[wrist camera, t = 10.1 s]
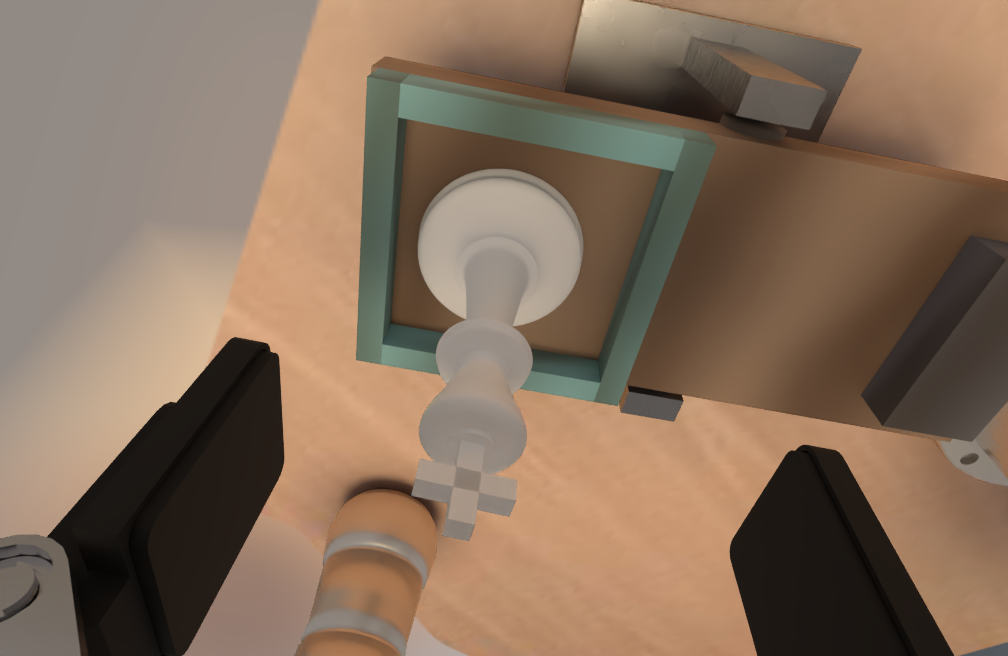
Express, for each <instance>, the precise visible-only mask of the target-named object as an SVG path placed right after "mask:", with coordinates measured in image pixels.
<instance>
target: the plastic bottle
mask: <svg viewBox="0 0 1008 656" xmlns="http://www.w3.org/2000/svg"><path fill="white" fill-rule="evenodd" d="M436 552H437V530H436V525H435V523H434V521H433V519H432V517H431V515H430V513H429V511H428V510H427V509H426V507H425V506H424V505H423V504H422V503H421V502H419V501H418V500H417V499H415V498H413V497H412V496H409V495H407V494H405V493H402V492H399V491H394V490H389V489H374V490H369V491H365V492H363V493H361V494H358V495H357V496H355V497H353V498H352V499H350V500H349V501H348V502H346V503H345V504H344V505H343V507H342V508H341V509H340V511H339V513H338V514H337V516H336V518H335V519H334V521H333V522H332V524H331V526H330V529H329V532H328V537H327V541H326V546H325V550H324V558H323V569H322V573H321V577H320V581H319V585H318V588H317V592H316V595H315V599H314V603H313V607H312V610H311V614H310V618H309V621H308V623H307V626H306V628H305V631H304V633H303V636H302V638H301V643H300V644H299V645H298V648H297V650H296V653H295V655H294V656H405V653H406V646H407V642H408V638H409V634H410V631H411V628H412V624H413V621H414V617H415V614H416V610H417V607H418V603H419V600H420V596H421V593H422V590H423V588H424V586H425V584H426V582H427V580H428V577H429V575H430V572H431V569H432V566H433V563H434V560H435V557H436Z"/></svg>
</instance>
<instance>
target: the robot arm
mask: <svg viewBox="0 0 1008 656" xmlns="http://www.w3.org/2000/svg"><path fill="white" fill-rule="evenodd" d="M935 442H936V443H937V445H938V446H939V448H940V449H941V451H942V452H943V453H944V455H945V456H946V457H947V458H948V460H949V461H950V462H951V463H952V464H953V465H954V466H955V467H956V468H957V469H959V470H961V471H962V472H964V473H965V474H967V475H969V476H970V477H973V478H976V479H978V480H981V481H984V482H987V483H991V484H997V485H1003V486H1008V402H1007V403H1006V404H1005V405H1004V406H1003V407H1002V409H1001V410H1000V411H999V412H998V413H997V414H996V415H995V416H994V418H993V419H992V420H991V421H990V422H989V423H988V424H987V426H986V427H985V428H984V429H983V430H982V431H981V432H980V433H979V435H978V436H977V437H976V438H975V439H974V440H973V441H972V442H969V441H963V440H957V439H952V440H951V442H945V441H940V440H935ZM283 464H284V442H283V423H282V404H281V385H280V365H279V356H278V354H276V353H272V352H270V347H269V345H268V344H267V343H263V342H258V341H253V340H248V339H242V338H237V337H234V338H232V339H230V340H229V341H228V342H227V344H226V345H225V346H224V347H223V348H222V349H221V351H220V352H219V353H218V354H217V355H216V357H215V358H214V359H213V360H212V361H211V362H210V364H209V365H208V366H207V367H206V368H205V370H204V371H203V372H202V373H201V374H200V375H199V377H198V378H197V379H196V380H195V381H194V383H193V384H192V385H191V386H190V387H189V388H188V390H187V391H186V392H185V393H184V394H183V396H182V397H181V398H180V399H179V400H178V401H177V403H174V402H169V403H167V404H165V405H163V406H162V407H161V408H160V409H159V410H158V411H157V412H156V413H155V414H154V415H153V416H152V417H151V418H150V420H149V421H148V422H147V423H146V424H145V425H144V426H143V428H142V429H141V430H140V431H139V432H138V433H137V434H136V436H135V437H134V438H133V439H132V440H131V441H130V442H129V444H128V445H127V446H126V447H125V448H124V449H123V451H122V452H121V453H120V454H119V455H118V456H117V457H116V459H115V460H114V461H113V462H112V463H111V464H110V465H109V467H108V468H107V469H106V470H105V471H104V472H103V473H102V475H101V476H100V477H99V478H98V479H97V480H96V481H95V483H94V484H93V485H92V486H91V487H90V488H89V490H88V491H87V492H86V493H85V494H84V495H83V496H82V497H81V499H80V500H79V501H78V502H77V503H76V504H75V505H74V507H73V508H72V509H71V510H70V511H69V512H68V513H67V515H66V516H65V517H64V518H63V519H62V520H61V522H60V523H59V524H58V525H57V526H56V527H55V529H53V531H52V532H51V533H50V534H49V535H48V536H47V537H44V536H40V535H14V536H10V537H5V538H0V656H182V655H184V654H185V652H186V651H187V649H188V648H189V646H190V644H191V643H192V640H193V639H194V637H195V635H196V633H197V631H198V629H199V628H200V626H201V624H202V622H203V620H204V618H205V616H206V614H207V613H208V611H209V609H210V607H211V605H212V603H213V601H214V599H215V598H216V596H217V594H218V592H219V590H220V588H221V586H222V584H223V583H224V580H225V579H226V577H227V575H228V573H229V571H230V569H231V567H232V565H233V564H234V562H235V560H236V558H237V556H238V554H239V552H240V550H241V549H242V547H243V545H244V543H245V541H246V539H247V537H248V535H249V534H250V532H251V530H252V528H253V526H254V524H255V522H256V520H257V518H258V516H259V515H260V513H261V511H262V509H263V507H264V505H265V503H266V502H267V500H268V498H269V496H270V494H271V492H272V490H273V488H274V486H275V485H276V483H277V481H278V479H279V477H280V475H281V472H282V468H283ZM730 559H731V563H732V567H733V570H734V574H735V577H736V581H737V584H738V588H739V592H740V595H741V599H742V602H743V606H744V609H745V613H746V616H747V620H748V624H749V627H750V631H751V634H752V638H753V641H754V645H755V648H756V652H757V656H954V654H953V653H952V651H951V649H950V647H949V645H948V644H947V642H946V640H945V638H944V636H943V635H942V633H941V631H940V629H939V628H938V626H937V624H936V622H935V620H934V619H933V617H932V615H931V613H930V612H929V610H928V608H927V606H926V604H925V603H924V601H923V599H922V597H921V595H920V594H919V592H918V590H917V588H916V587H915V585H914V583H913V581H912V579H911V578H910V576H909V574H908V572H907V570H906V569H905V567H904V565H903V563H902V562H901V560H900V558H899V556H898V554H897V553H896V551H895V549H894V547H893V545H892V544H891V542H890V540H889V538H888V537H887V535H886V533H885V531H884V529H883V528H882V526H881V524H880V522H879V520H878V519H877V517H876V515H875V513H874V512H873V510H872V508H871V506H870V504H869V503H868V501H867V499H866V497H865V496H864V494H863V492H862V490H861V488H860V487H859V485H858V483H857V481H856V479H855V478H854V476H853V474H852V472H851V471H850V469H849V467H848V465H847V463H846V462H845V460H844V458H843V457H842V455H841V454H840V453H839V452H837V451H836V450H831V449H826V448H820V447H815V446H810V445H802V446H800V447H798V448H797V450H796V451H790V452H788V453H787V454H786V456H785V457H784V459H783V460H782V462H781V464H780V465H779V467H778V468H777V470H776V472H775V473H774V475H773V476H772V478H771V479H770V481H769V483H768V484H767V486H766V487H765V489H764V490H763V492H762V494H761V495H760V497H759V498H758V500H757V501H756V503H755V505H754V506H753V508H752V509H751V511H750V512H749V514H748V516H747V517H746V519H745V520H744V522H743V523H742V525H741V527H740V528H739V530H738V531H737V533H736V534H735V536H734V538H733V540H732V542H731V545H730Z"/></svg>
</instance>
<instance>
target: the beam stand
mask: <svg viewBox="0 0 1008 656" xmlns="http://www.w3.org/2000/svg"><path fill="white" fill-rule="evenodd" d="M861 50H862V49H861V48H858V47H855V46H852V45H848V44H843V43H838V42H834V41H829V40H824V39H819V38H815V37H810V36H805V35H800V34H795V33H791V32H786V31H781V30H776V29H771V28H767V27H762V26H757V25H752V24H747V23H743V22H738V21H733V20H728V19H724V18H719V17H714V16H709V15H704V14H700V13H695V12H690V11H685V10H680V9H676V8H671V7H666V6H661V5H656V4H652V3H647V2H642V1H637V0H582V3H581V8H580V12H579V17H578V22H577V26H576V31H575V35H574V40H573V44H572V49H571V53H570V58H569V63H568V67H567V72H566V76H565V81H564V85H563V90H562V92H565V93H570V94H575V95H580V96H585V97H590V98H595V99H600V100H605V101H610V102H615V103H620V104H625V105H630V106H635V107H640V108H645V109H650V110H655V111H660V112H665V113H670V114H675V115H680V116H685V117H690V118H695V119H700V120H705V121H710V122H715V123H719V122H720V120H721V117H722V114H723V113H734V114H735V115H736V116H740V117H745V118H750V119H755V120H760V121H765V122H770V123H774V124H777V125H779V126H781V127H783V128H784V129H785V130H786V131H787V132H786V134H785V137H790V138H795V139H800V140H805V141H810V142H815V143H817V142H818V140H819V138H820V136H821V134H822V132H823V129H824V127H825V125H826V123H827V121H828V119H829V117H830V115H831V113H832V111H833V108H834V106H835V104H836V102H837V100H838V98H839V96H840V94H841V92H842V90H843V88H844V85H845V83H846V81H847V79H848V77H849V75H850V73H851V71H852V69H853V67H854V64H855V62H856V60H857V58H858V56H859V54H860V52H861ZM682 403H683V398H682V395H680V394H675V393H669V392H663V391H658V390H652V389H646V388H641V387H635V386H629V385H626V386H625V388H624V391H623V393H622V396H621V399H620V401H619V405H620V411H621V413H627V414H633V415H639V416H645V417H650V418H656V419H662V420H668V421H675V418H676V416H677V414H678V412H679V410H680V408H681V405H682Z"/></svg>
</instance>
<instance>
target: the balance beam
mask: <svg viewBox="0 0 1008 656" xmlns="http://www.w3.org/2000/svg"><path fill="white" fill-rule="evenodd" d="M786 132H787V131H786V130H785V129H784V128H783V127H781V126H779V125H777V124H774V123H770V122H765V121H760V120H755V119H750V118H745V117H740V116H736V115H735V114H734V113H723V114H722V117H721V120H720V122H719V123H715V122H710V121H705V120H700V119H695V118H690V117H685V116H680V115H675V114H670V113H665V112H660V111H655V110H650V109H645V108H640V107H635V106H630V105H625V104H620V103H615V102H610V101H605V100H600V99H595V98H590V97H585V96H580V95H575V94H570V93H565V92H560V91H555V90H550V89H545V88H540V87H535V86H530V85H525V84H520V83H515V82H510V81H505V80H500V79H495V78H490V77H485V76H480V75H475V74H470V73H465V72H460V71H455V70H450V69H445V68H440V67H435V66H430V65H425V64H420V63H415V62H410V61H405V60H400V59H395V58H390V57H384V58H382V59H381V60H379V61H378V62H377V63H375V64H374V65H372V67H371V74H370V75H369V76H367V94H366V120H365V146H364V171H363V197H362V222H361V248H360V273H359V299H358V325H357V350H356V360H359V361H364V362H370V363H376V364H381V365H387V366H393V367H399V368H404V369H410V370H416V371H421V372H427V373H433V374H438V375H440V373H439V370H438V366H437V362H436V349H437V345H438V342H439V340H440V339H441V337H442V336H443V334H444V333H445V332H446V331H447V330H448V329H449V328H451V327H452V326H454V325H455V324H457V323H459V322H462V321H465V320H466V319H464V318H462V317H460V316H458V315H456V314H455V313H453V312H452V311H450V310H449V309H448V308H446V307H445V306H444V305H443V304H442V303H441V302H440V301H439V300H438V299H437V298H436V297H435V296H434V295H433V293H432V292H431V290H430V289H429V287H428V286H427V284H426V282H425V280H424V278H423V275H422V273H421V269H420V266H419V260H418V238H419V229H420V225H421V221H422V218H423V216H424V213H425V211H426V209H427V207H428V206H429V204H430V203H431V201H432V200H433V199H434V197H435V196H436V195H437V194H438V193H439V192H440V191H441V190H442V189H443V188H444V187H445V186H447V185H448V184H450V183H451V182H453V181H454V180H456V179H458V178H460V177H462V176H464V175H466V174H469V173H472V172H475V171H479V170H485V169H512V170H517V171H521V172H525V173H528V174H531V175H533V176H536V177H538V178H540V179H542V180H543V181H545V182H547V183H548V184H550V185H551V186H552V187H554V188H555V189H556V190H557V191H558V192H559V193H561V194H562V196H563V197H564V198H565V199H566V200H567V201H568V203H569V204H570V205H571V207H572V208H573V210H574V212H575V214H576V216H577V218H578V220H579V223H580V226H581V230H582V235H583V258H582V263H581V268H580V272H579V275H578V278H577V281H576V283H575V285H574V287H573V289H572V291H571V292H570V294H569V295H568V296H567V298H566V299H565V300H564V301H563V302H562V303H561V304H560V305H559V306H558V307H557V308H556V309H555V310H553V311H552V312H551V313H549V314H547V315H546V316H544V317H542V318H540V319H538V320H536V321H533V322H531V323H527V324H524V325H519V326H513V328H515V329H516V330H518V331H519V332H520V333H521V334H522V335H523V336H524V338H525V339H526V340H527V342H528V344H529V346H530V348H531V351H532V356H533V364H532V369H531V372H530V374H529V376H528V378H527V379H526V381H525V383H524V384H523V385H522V387H521V388H520V389H524V390H530V391H535V392H541V393H547V394H552V395H558V396H564V397H569V398H575V399H581V400H587V401H592V402H598V403H604V404H609V405H615V406H618V404H619V401H620V399H621V396H622V393H623V391H624V388H625V386H626V385H629V386H635V387H641V388H646V389H652V390H658V391H663V392H669V393H675V394H680V395H686V396H692V397H697V398H703V399H708V400H714V401H720V402H725V403H731V404H737V405H742V406H748V407H754V408H759V409H765V410H770V411H776V412H782V413H787V414H793V415H799V416H804V417H810V418H816V419H821V420H827V421H832V422H838V423H844V424H849V425H855V426H861V427H866V428H872V429H878V430H883V431H889V432H895V433H900V434H906V435H911V436H917V437H923V438H928V439H934V440H940V441H945V442H951V440H952V439H957V440H963V441H969V442H972V441H973V440H974V439H975V438H976V437H977V436H978V435H979V433H980V432H981V431H982V430H983V429H984V428H985V427H986V426H987V424H988V423H989V422H990V421H991V420H992V419H993V418H994V416H995V415H996V414H997V413H998V412H999V411H1000V410H1001V409H1002V407H1003V406H1004V405H1005V404H1006V403H1007V402H1008V181H1004V180H999V179H994V178H989V177H984V176H979V175H974V174H969V173H964V172H959V171H954V170H949V169H944V168H939V167H934V166H930V165H925V164H920V163H915V162H910V161H905V160H900V159H895V158H890V157H885V156H880V155H875V154H870V153H865V152H860V151H855V150H850V149H845V148H840V147H835V146H830V145H825V144H820V143H815V142H810V141H805V140H800V139H795V138H790V137H785V134H786Z"/></svg>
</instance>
